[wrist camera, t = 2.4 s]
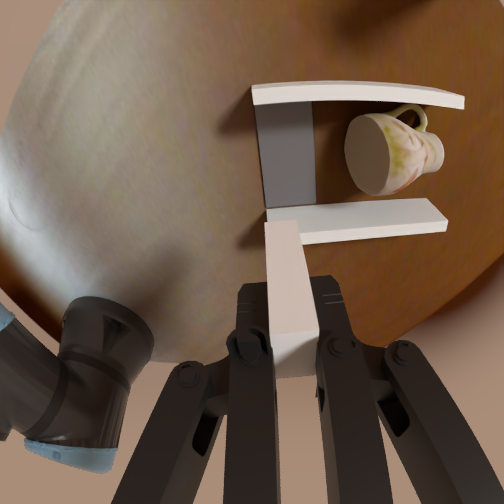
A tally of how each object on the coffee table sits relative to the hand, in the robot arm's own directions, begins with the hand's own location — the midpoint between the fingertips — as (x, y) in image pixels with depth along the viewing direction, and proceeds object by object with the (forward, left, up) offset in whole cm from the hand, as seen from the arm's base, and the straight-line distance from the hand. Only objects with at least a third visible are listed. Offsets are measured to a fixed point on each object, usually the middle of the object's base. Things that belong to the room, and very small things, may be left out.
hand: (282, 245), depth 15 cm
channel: (+8, 0, -15) cm, 17 cm away
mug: (+12, +1, -15) cm, 19 cm away
